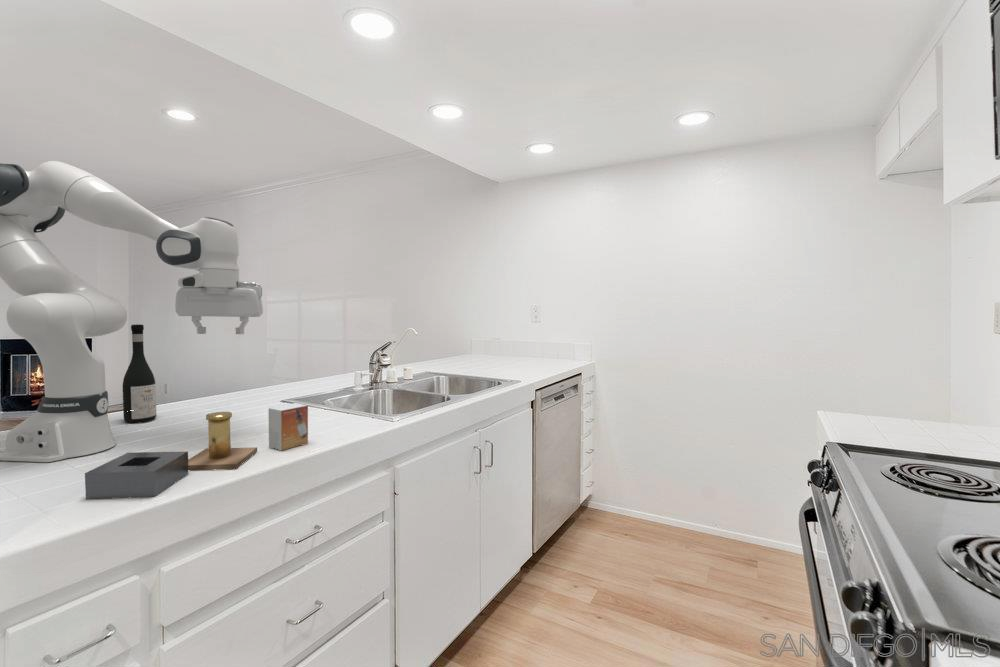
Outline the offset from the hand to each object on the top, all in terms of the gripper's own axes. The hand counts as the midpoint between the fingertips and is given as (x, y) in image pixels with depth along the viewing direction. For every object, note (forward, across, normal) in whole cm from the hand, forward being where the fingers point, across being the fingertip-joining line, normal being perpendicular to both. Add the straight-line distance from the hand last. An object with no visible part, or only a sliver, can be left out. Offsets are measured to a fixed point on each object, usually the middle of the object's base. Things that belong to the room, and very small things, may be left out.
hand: (220, 334), depth 121 cm
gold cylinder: (+28, -6, +15) cm, 32 cm away
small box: (+29, -18, +4) cm, 35 cm away
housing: (+29, +3, +29) cm, 41 cm away
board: (+29, -6, +15) cm, 33 cm away
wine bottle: (+29, +35, -25) cm, 52 cm away
